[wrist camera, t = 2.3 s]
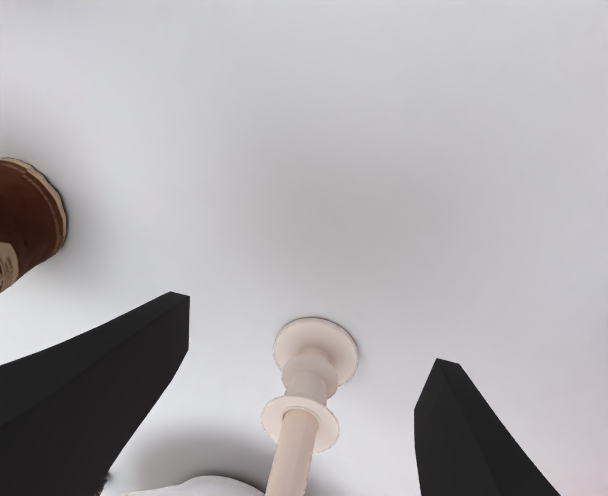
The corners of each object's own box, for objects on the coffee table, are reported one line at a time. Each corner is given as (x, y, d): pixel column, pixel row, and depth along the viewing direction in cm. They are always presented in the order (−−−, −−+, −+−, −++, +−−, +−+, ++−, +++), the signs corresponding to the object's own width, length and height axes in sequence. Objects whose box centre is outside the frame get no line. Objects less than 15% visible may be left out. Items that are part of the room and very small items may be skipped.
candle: (342, 308, 20) (314, 495, 11) (369, 377, 22) (364, 588, 13) (261, 326, 22) (179, 503, 13) (293, 389, 24) (240, 585, 15)
